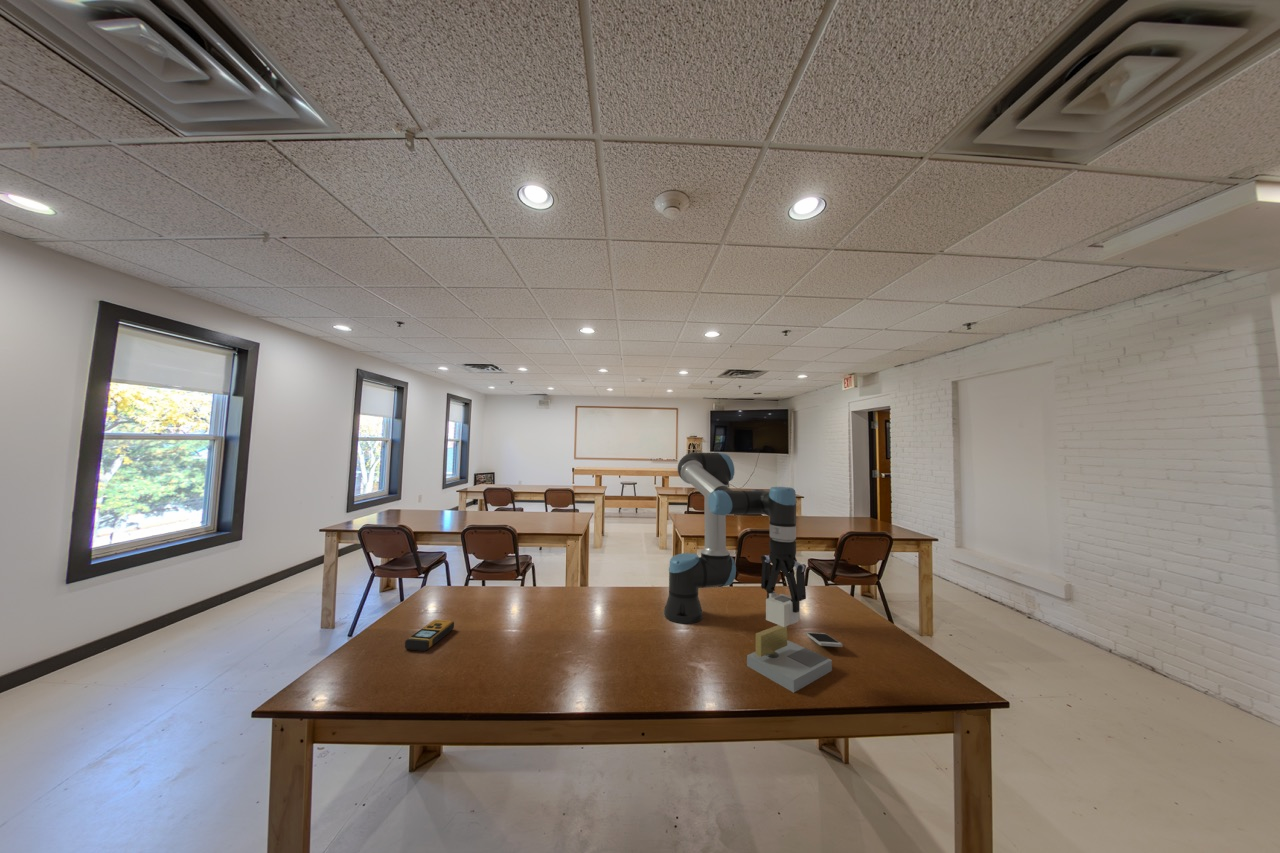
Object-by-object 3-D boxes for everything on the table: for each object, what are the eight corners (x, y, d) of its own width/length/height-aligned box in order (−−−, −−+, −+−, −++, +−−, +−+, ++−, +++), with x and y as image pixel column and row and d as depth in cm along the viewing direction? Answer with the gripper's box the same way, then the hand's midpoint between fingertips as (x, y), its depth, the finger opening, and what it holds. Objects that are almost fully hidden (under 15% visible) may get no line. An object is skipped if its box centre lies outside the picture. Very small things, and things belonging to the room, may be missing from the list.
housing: (747, 667, 121) (747, 654, 121) (785, 649, 132) (785, 638, 133) (793, 693, 108) (793, 679, 108) (832, 672, 119) (831, 659, 120)
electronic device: (455, 629, 141) (456, 619, 141) (428, 651, 126) (428, 640, 126) (433, 627, 142) (433, 617, 142) (403, 649, 126) (404, 638, 127)
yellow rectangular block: (761, 661, 117) (761, 636, 118) (755, 658, 119) (755, 633, 119) (787, 649, 125) (787, 625, 125) (781, 646, 126) (781, 623, 127)
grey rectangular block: (765, 619, 117) (765, 598, 117) (781, 613, 122) (781, 593, 122) (784, 627, 112) (784, 604, 112) (799, 620, 117) (799, 598, 117)
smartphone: (820, 645, 129) (820, 642, 130) (805, 634, 144) (805, 631, 144) (843, 647, 129) (842, 644, 129) (825, 635, 144) (825, 632, 144)
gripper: (748, 534, 123) (748, 611, 122) (805, 547, 108) (806, 634, 107) (763, 532, 128) (762, 605, 127) (819, 544, 113) (820, 627, 111)
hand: (782, 618), depth 117 cm, fingers closed on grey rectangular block, 6 cm apart
